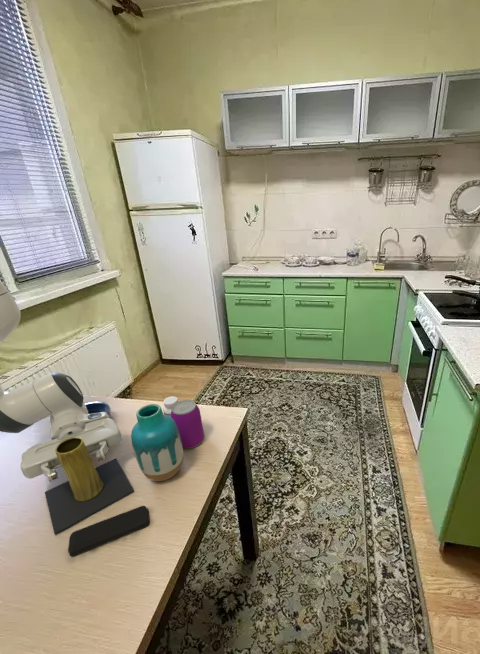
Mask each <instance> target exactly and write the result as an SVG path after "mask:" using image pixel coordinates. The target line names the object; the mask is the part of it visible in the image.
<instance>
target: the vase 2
mask: <svg viewBox="0 0 480 654" xmlns="http://www.w3.org/2000/svg"><path fill="white" fill-rule="evenodd" d="M135 416H136V421H137V422H136V423H135V424H134V426H133V427H132V429H131V433H130V441H131V446H132V449H133V454H134V457H135V459H136V462H137V464H138V467H139V469H140V471H141V473H142V474H143V475H144V476H145V477H146V478H147V479H149V480H151V481H153V482H154V481H156V482H162V481H166V480H170V479H171V478H172V477H174V476H176V475H177V474H178V473H179V471H180V470H181V468H182V466H183V463H184V448H183V447H182V442H181V438H180V434H179V430H178V427H177V425H176V423H175V421H174V420H173V419H172V418H171V417H170V416H168V415H165V414H164V412H163V408H162V407H161V406H160V404H156V403H149V404H146V405H143V406H142V407H140V408H139V409H137V411H136V413H135Z"/></svg>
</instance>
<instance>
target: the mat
mask: <svg viewBox="0 0 480 654" xmlns="http://www.w3.org/2000/svg"><path fill="white" fill-rule="evenodd" d="M95 468H96V470H97V472H98V474H99V476H100V479H101V480H102V482H103V489H102V490H101V492H100V493H99V494H98V495H97V496H95V497H94V498H92V499H90V500H87V501H78V500H76V499H75V498H74V494H73V491H72V489H71V486H70V483H69V480H67V481H65V482H62V483H61V484H58V485H56V486H55V487H52V488H50V489H48V490H46V491H44V495H45V499H46V504H47V507H48V512H49V516H50V520H51V525H52V528H53V533H54V535H55V536H57V535H60V534H61V533H63V532H65V531H66V530H68V529H70V528H72V527H74V526H75V525H77V524H79V523H81V522H83V521H84V520H86V519H88V518H90V517H91V516H93V515H95V514H98V513H99V512H101V511H102V510H104V509H106V508H107V507H110V506H112V505H114V504H115V503H117V502H119V501H120V500H122V499H124V498H126V497H128V496H129V495H132V494H133V493H135V490H134V488H133V486H132V485H131V483H130V481H129V479H128V477H127V475H126V474H125V472H124V470H123V468H122V466H121V464H120V462H119V460H118V459H117V457H115V458H113V459H111V460H108V461H107V462H104V463H103V464H100V465H98V466H95Z"/></svg>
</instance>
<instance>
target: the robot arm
mask: <svg viewBox="0 0 480 654" xmlns="http://www.w3.org/2000/svg"><path fill="white" fill-rule="evenodd" d="M21 317H22V316H21V310H20V308H19V305H18V304H17V301H15V298H14V297H13V295H12V294H11V293H10V291H9V289H8V288H7V287H6V286H5V284H4V283H3V282H2V280H0V344H2V343H3V342H4V341H5V340H6V339H8V337H10V335H12V333H13V332H14V331H15V330H16V329H17V328H18V326H19V324H20V321H21ZM84 399H85V397H84V395H83V392H82V390H81V388H80V387H79V385H78V383H77V382H76V381H75V380H74V379H73V378H72V377H71V376H69V375H67V374H64V373H62V372H57V371H52V372H50V373H47V374H45V375H43V376H40V377H38V378H35V379H34V380H32V381H31V382H27V383H26V384H23V385H21V386H19V387H17V388H14V389H12V390H5V389H3V386H2V385H1V384H0V432H1V433H6V434H19V433H21V432H23V431H24V430H27V429H28V428H30V427H31V426H33V425H35V423H38V422H40V421H42V420H44V419H46V418H48V417H49V424H50V440H46V441H44V442H41V443H38V444H36V445H33V446H31V447H29V448H27V450H25V452H23V453H22V454H21V462H20V470H21V472H22V474H23V476H24V477H25V478H27V479H34V478H36V477H39V476H41V475H44V477H45V476H46V477H47V479H48V480H49V482H52V481H56V480H58V479H59V474H58V472H57V469H59V468H63V467H62V465H61V463H60V461H59V459H58V457H57V455H56V452H55V449H56V447H57V446H58V444H59V443H61V442H62V441H64V440H66V439H68V438H72V437H80V438H82V439H83V441H84V444H85V446H86V448H87V451H88V453H89V455H90V456H92V455H96V459H97V462H101V461H105V460H106V454H107V453H108V451H109V449H110V448H113V447H115V446H118V445H120V444H121V443H122V442H123V439H124V438H123V436H122V433H121V430H120V428H119V426H118V424H117V423H116V421H115V419H114V420H112V419H110V418H109V417H108V415H107V413H106V412H100V413H93V414H89V413H88V410H87V407H86V405H85V404H86V403H85V402H84V401H85V400H84Z"/></svg>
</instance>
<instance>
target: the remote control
mask: <svg viewBox="0 0 480 654" xmlns="http://www.w3.org/2000/svg"><path fill="white" fill-rule="evenodd" d="M150 521H151V520H150V512H149V509H148V508H147V506H145V505H140V506H138V507H135V508H133V509H130V510H127V511H124V512H122V513H118V514H116V515H114V516H111V517H109V518H106V519H103V520H100V521H98V522H96V523H92V524H90V525H88V526H85V527H83V528H82V527H81V528H79V529H76V530H75V531H72V533H71V534H70V535H69V541H68V548H67V550H68V556H69V557H71V558H72V557H76V556H78V555H80V554H81V555H82V554H83V553H85V552H88V551H91V550H93V549H95V548H99V547H101V546H103V545H106V544H108V543H111V542H113V541H115V540H118V539H120V538H124V537H125V536H129V535H131V534H133V533H136V532H138V531H141V530H143V529H146V528H147V527H149V526H150Z"/></svg>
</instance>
